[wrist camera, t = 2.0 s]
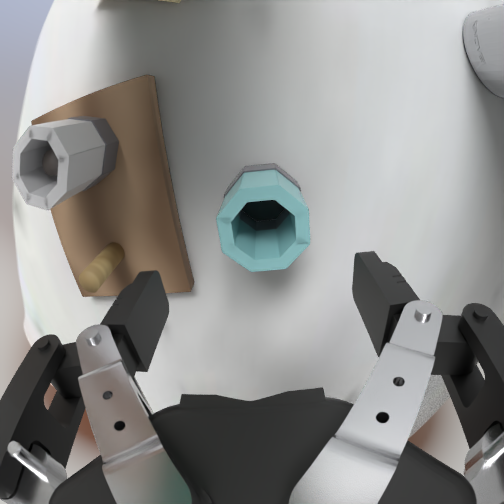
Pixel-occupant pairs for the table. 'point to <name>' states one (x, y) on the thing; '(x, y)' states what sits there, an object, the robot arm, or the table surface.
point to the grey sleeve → (63, 159)
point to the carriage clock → (172, 1)
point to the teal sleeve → (268, 231)
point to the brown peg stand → (123, 198)
